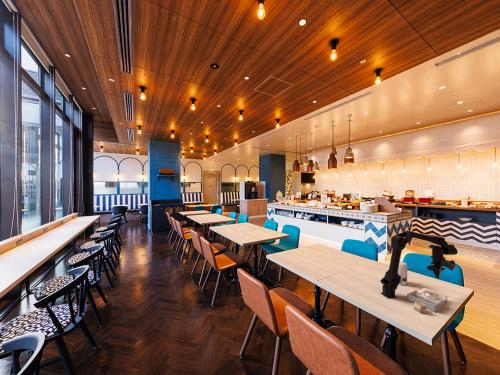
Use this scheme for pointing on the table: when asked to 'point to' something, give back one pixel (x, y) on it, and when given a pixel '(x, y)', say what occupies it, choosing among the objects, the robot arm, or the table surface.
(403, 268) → the supplement can
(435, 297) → the disc
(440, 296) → the tray
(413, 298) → the housing
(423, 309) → the pedestal
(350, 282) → the table surface
